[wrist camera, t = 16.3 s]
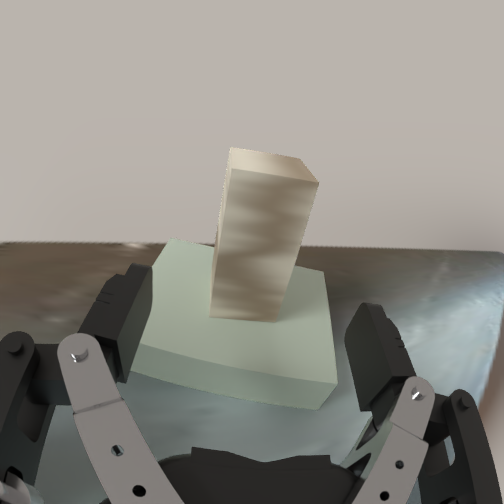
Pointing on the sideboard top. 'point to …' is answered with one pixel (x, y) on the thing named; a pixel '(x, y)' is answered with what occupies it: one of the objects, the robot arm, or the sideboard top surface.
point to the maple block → (258, 233)
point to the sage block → (237, 336)
